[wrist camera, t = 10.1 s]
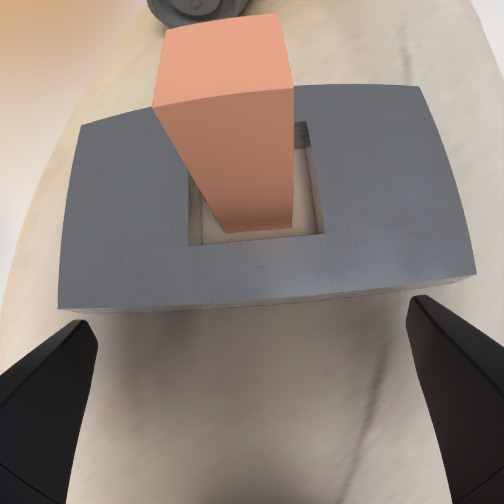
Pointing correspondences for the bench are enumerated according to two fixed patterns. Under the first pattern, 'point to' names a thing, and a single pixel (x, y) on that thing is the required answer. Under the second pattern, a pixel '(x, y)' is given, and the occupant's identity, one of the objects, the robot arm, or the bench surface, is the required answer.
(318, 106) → the slotted steel plate
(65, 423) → the robot arm
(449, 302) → the bench surface
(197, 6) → the bluetooth speaker
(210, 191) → the reddish-brown rectangular peg
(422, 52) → the bench surface
